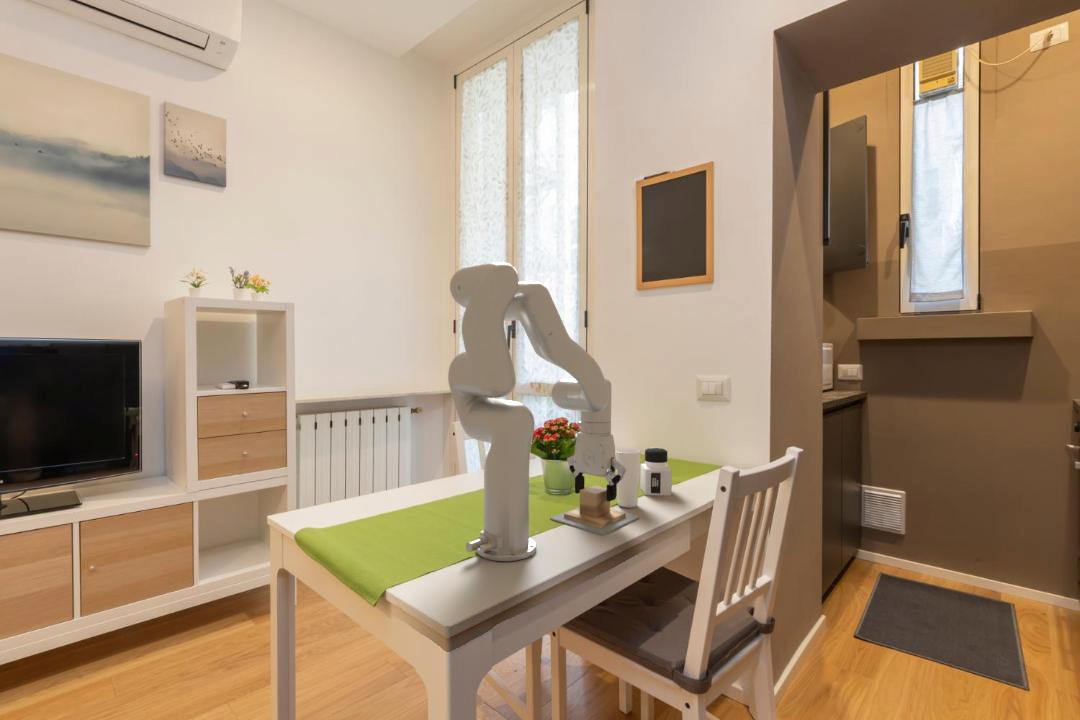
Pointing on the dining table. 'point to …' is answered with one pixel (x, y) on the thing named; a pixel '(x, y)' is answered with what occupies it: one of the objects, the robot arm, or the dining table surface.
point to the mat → (601, 531)
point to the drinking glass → (628, 477)
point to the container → (656, 473)
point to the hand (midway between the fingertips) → (595, 496)
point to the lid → (594, 508)
